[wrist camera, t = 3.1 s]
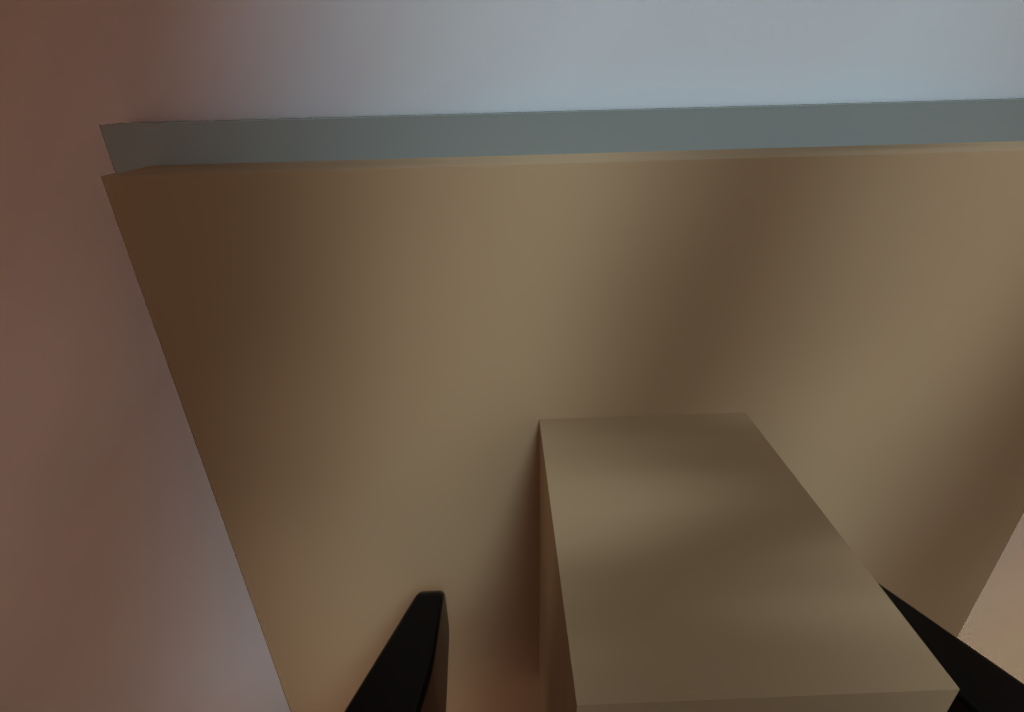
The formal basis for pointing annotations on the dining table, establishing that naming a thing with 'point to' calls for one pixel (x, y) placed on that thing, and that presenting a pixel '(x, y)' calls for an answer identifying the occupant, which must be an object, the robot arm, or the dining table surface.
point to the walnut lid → (604, 412)
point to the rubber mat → (562, 132)
